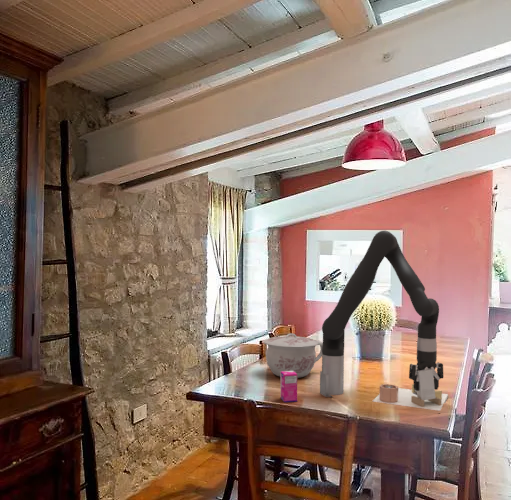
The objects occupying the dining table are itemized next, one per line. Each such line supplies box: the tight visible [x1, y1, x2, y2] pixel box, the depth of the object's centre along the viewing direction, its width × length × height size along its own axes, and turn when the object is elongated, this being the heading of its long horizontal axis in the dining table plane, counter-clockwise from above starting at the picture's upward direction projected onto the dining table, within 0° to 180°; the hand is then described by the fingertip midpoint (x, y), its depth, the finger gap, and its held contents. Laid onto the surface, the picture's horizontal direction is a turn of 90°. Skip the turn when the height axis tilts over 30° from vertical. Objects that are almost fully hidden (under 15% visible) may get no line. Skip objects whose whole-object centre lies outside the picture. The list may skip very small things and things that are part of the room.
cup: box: [379, 383, 399, 404], centre depth 214 cm, size 7×7×6 cm
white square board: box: [372, 383, 449, 415], centre depth 218 cm, size 26×26×5 cm
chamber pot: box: [262, 333, 323, 379], centre depth 259 cm, size 28×28×21 cm
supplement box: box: [279, 371, 298, 403], centre depth 216 cm, size 6×6×12 cm
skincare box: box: [415, 368, 436, 400], centre depth 209 cm, size 6×4×12 cm
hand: (426, 389), depth 209 cm, fingers open, 8 cm apart
